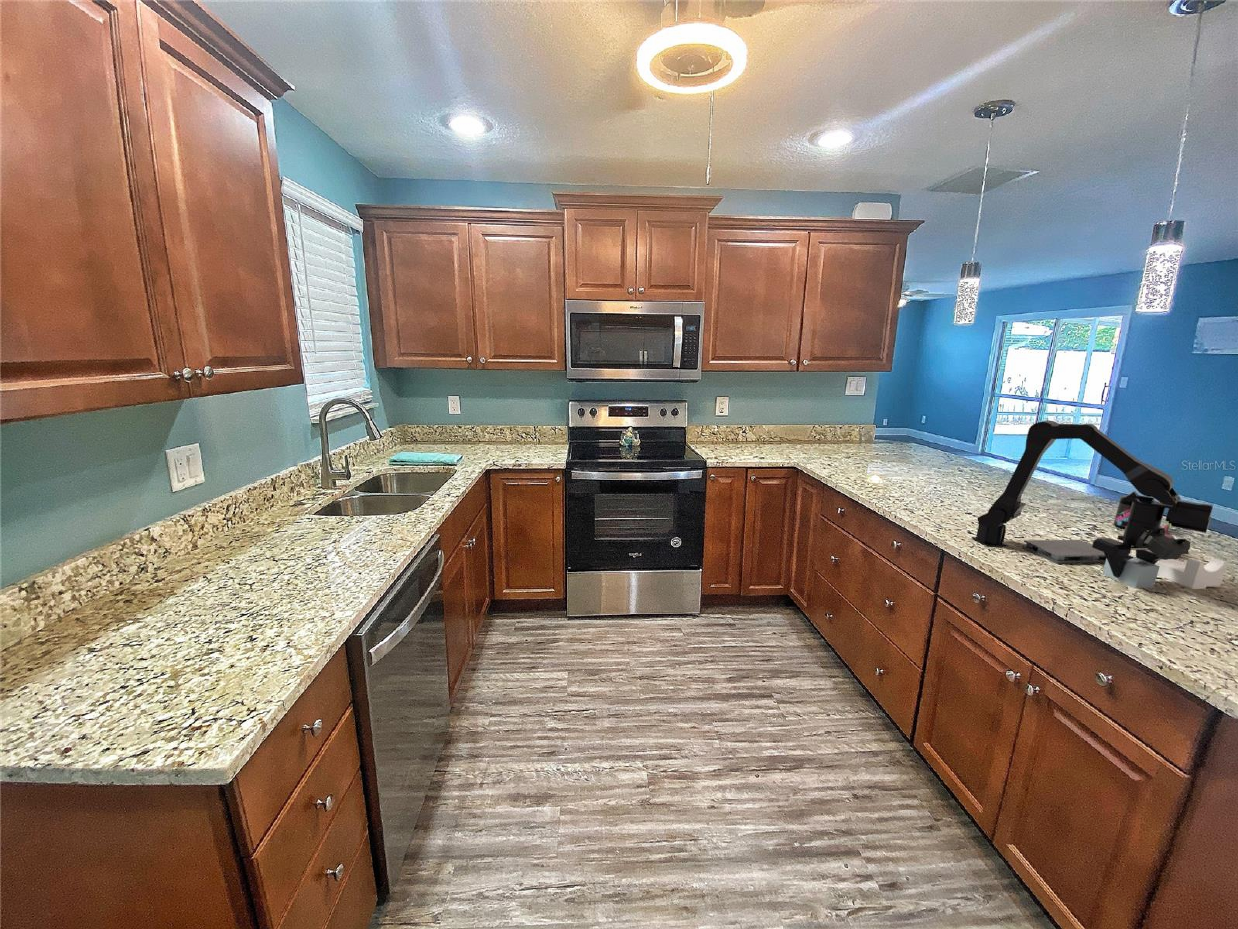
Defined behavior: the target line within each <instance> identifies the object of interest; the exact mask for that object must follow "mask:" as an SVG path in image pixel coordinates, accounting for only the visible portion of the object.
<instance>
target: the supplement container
mask: <svg viewBox="0 0 1238 929" xmlns="http://www.w3.org/2000/svg"><path fill="white" fill-rule="evenodd" d="M1124 496H1125V495H1124ZM1124 496H1120V498H1119V500H1118V506H1117V508H1116V513H1115V517H1114V520H1113V526H1114V527H1115V528H1117V529H1120V530H1123V531H1125V527H1126V526H1125V525H1122V524H1121V523H1122V521H1127V520H1128V516H1129V513H1130V509H1131V506H1132V502H1131V501H1125V500H1122V498H1123V497H1124Z"/></svg>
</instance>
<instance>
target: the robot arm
mask: <svg viewBox="0 0 1238 929" xmlns="http://www.w3.org/2000/svg"><path fill="white" fill-rule="evenodd" d="M1025 438H1026V440H1025V447H1024V448H1025V449H1024V452H1023V454H1022V455H1021V457H1020V459H1019V462H1018V463H1017V466H1016V467H1015V470H1014V471H1013V474H1012V476H1011V477H1010V479H1009V481H1008V483H1007V486H1006V487H1005V490H1004V491H1003V493H1002V494H1001V495H1000V496H999V497H998V498H997V499H996V500H995V501H994V503H993V504H992V505H991V506H990V507H989V509H988V511H987V513H985V514H982V515H980V516H978V517H977V521H978V527H977V532H976V536H971V539H972V540H974V541H976V542H978V543H979V544H982V545H983V546H987V547H1006V546H1008V545H1007V544H1006V543H1005V542H1004V541H1005V537H1006V531H1007V528H1006V527H1007V525H1006V524H1007V523H1008V522H1010V521H1012V520H1014V519H1016V518H1018V517H1019V516H1021V515H1022V510H1023V509H1024V508H1025V506H1026V505H1027V503H1026V502H1022V495H1023V493H1024V492H1025V490H1026V487H1027V486H1028V485H1029V482H1030V480H1031V478H1032V476H1033V474H1034V472H1035V471H1036V468H1037V467H1038V465H1039V463H1040V462H1041V459H1042V456H1043V455H1044V454H1045V452H1046V451H1047V450H1048V449H1049V448H1050V447H1051V446H1052V445H1053V444H1054V443H1055V442H1056V440H1074V439H1079V440H1081V441H1083V443H1085V444H1086V445H1088V447H1090V448H1092V449H1093V450H1094V451H1095V452H1097V453H1098V454H1099V455H1101V456H1102V457H1103V458H1105V459H1106V460H1107V461H1108V462H1110V463H1111V464H1112V465H1113V466H1115V467H1116V468H1117V469H1119V470H1120V471H1121V472H1122V473H1123V475H1124V476H1125V477H1126V479H1127V480H1128V481H1129V483H1130V484H1131V485H1132V486H1133V487H1134V488H1135V490H1137V491H1135V490H1133V491H1132V492H1131V493H1129V494H1126V495H1124V497H1123V498H1122V500H1125V501H1131V502H1132V506H1131V509H1130V513H1129V516H1128V520H1127V521H1122V523H1121V524H1122V525H1125V526H1126V527H1125V530H1123V534H1122V535H1117V538H1116V539H1114V538H1111V537H1097V538H1095V539H1093V540H1092V543H1091V544H1092V548H1095V549H1097V550H1100V551H1103V552H1104V554H1105V556H1106V558H1107V560H1108V563H1109V565H1110V568H1111V570H1112V573H1113V576H1114V577H1117V578H1119V577H1120V575H1121V574H1122V571H1123V569H1124V566H1125V564H1126V561H1127V560H1130V559H1132V558H1134V557H1136V558H1139V559H1141V560H1144V561H1147V562H1149V563H1152V564H1155V563H1156V562H1157V561H1159V560H1162V559H1163V560H1168V559H1174V560H1178V559H1179V558H1181V556H1182V555H1188V554H1189V553H1190V552H1189V550H1190V549H1191V541H1189V539H1186V538H1177V539H1176V538H1175V539H1176V540H1174V539H1173V538H1168V537H1166V536H1165V530H1164V529H1165V528H1164V527H1162V526H1161V524H1162V520H1163V517H1164V515H1165V514H1164V513H1165V510H1166V509H1168V511H1167V513H1166V518H1165V522H1167V524H1168V523H1170V526H1171V527H1173V528H1178V529H1183V530H1188V531H1192V532H1199V533H1204V534H1206V533H1207V532H1208V529H1209V526H1210V523H1211V520H1212V512H1213V508H1214V505H1213V504H1209V503H1197V502H1192V501H1185V500H1182V497H1180V495H1179V494H1178V493H1177V492H1176V490H1175V489H1174V479H1173V477H1171V476H1170V475H1169V474H1167V473H1166V472H1164V471H1163V470H1160V469H1159V468H1157V467H1154V466H1152V465H1150V464H1148V463H1146V462H1144V461H1142V460H1140V459H1138V458H1137V457H1136V456H1134V455H1133V454H1132V453H1130V452H1129V451H1127V450H1126V449H1125V448H1124V447H1122V446H1121V445H1119V444H1118V443H1117V442H1116V441H1114V440H1113V439H1112V438H1110V436H1108V435H1106V434H1105V433H1103V432H1102V431H1101V430H1099V429H1098V427H1097V425H1094V424H1093V423H1083V424H1077V423H1075V424H1074V423H1058V422H1056V421H1054V420H1042V421H1039V422H1035V423H1033V424H1032V425H1030V426H1029V429H1028V431H1027V434H1026V437H1025ZM1138 493H1139V494H1138ZM1156 500H1157V501H1156ZM1131 551H1135V556H1133V555H1131V556H1129V555H1130V554H1131ZM1132 556H1133V557H1132Z"/></svg>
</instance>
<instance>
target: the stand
mask: <svg viewBox="0 0 1238 929" xmlns="http://www.w3.org/2000/svg"><path fill="white" fill-rule="evenodd" d="M1023 542H1024V543H1026V544H1025V545H1022V548H1021V549H1024V550H1026V551H1028V552H1030V553H1033V554H1035V555H1037V556H1038V557H1041V558H1043V559H1046V560H1048V561H1050V562H1052V563H1054V564H1056V565H1059V564H1061V565H1062V564H1064V565H1065V564H1105V562H1106V556H1105V554H1104V552H1103V551H1100V550H1097V549H1095V548H1092V544H1093V543H1089V542H1086V541H1083V540H1081V539H1044V540H1043V539H1037V540H1036V539H1034V540H1033V539H1032V540H1031V539H1030V540H1029V539H1028V540H1023Z"/></svg>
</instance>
